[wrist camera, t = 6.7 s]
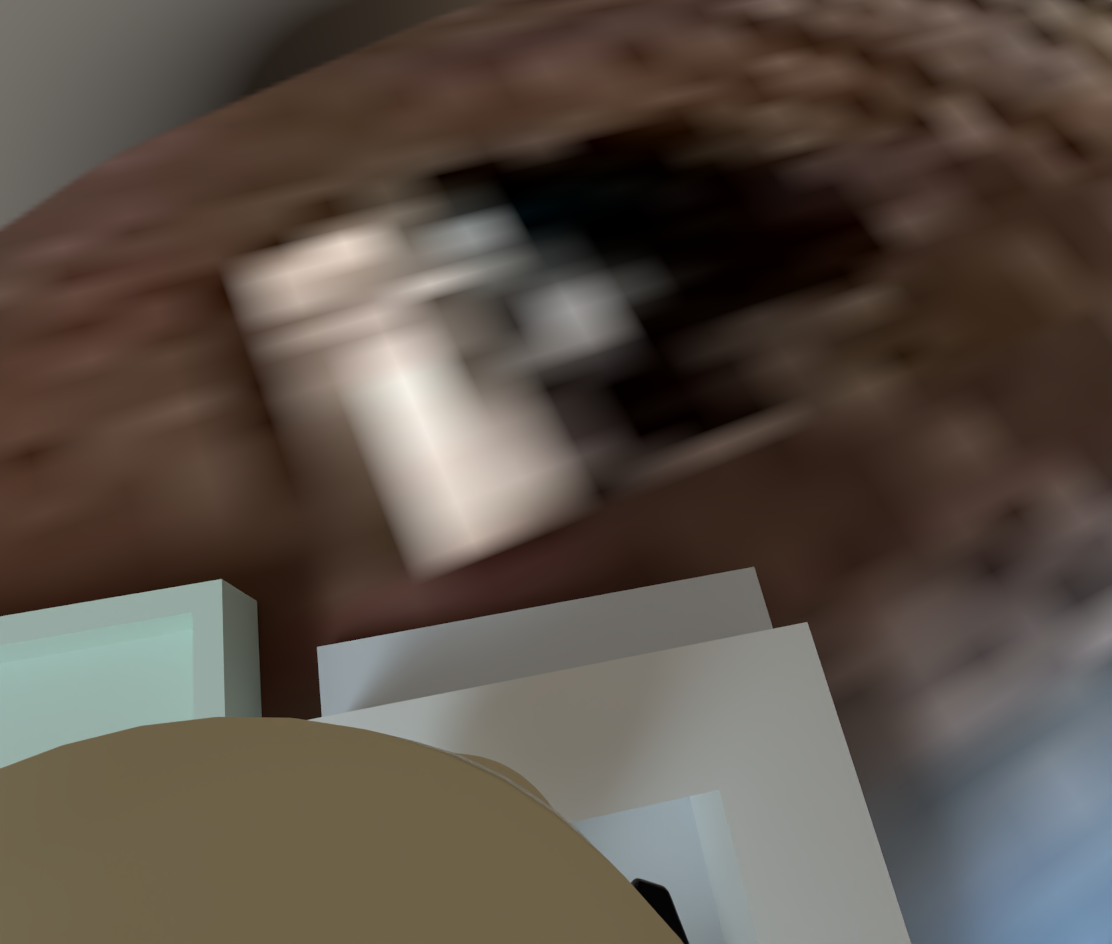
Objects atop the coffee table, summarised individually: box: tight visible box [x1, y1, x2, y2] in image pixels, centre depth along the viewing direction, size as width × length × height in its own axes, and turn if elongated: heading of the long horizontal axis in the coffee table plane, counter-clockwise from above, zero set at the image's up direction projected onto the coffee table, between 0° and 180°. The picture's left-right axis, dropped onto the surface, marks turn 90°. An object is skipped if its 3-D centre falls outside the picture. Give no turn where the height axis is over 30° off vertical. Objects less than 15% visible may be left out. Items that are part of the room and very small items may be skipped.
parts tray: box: [0, 579, 262, 768], centre depth 19 cm, size 12×12×3 cm
